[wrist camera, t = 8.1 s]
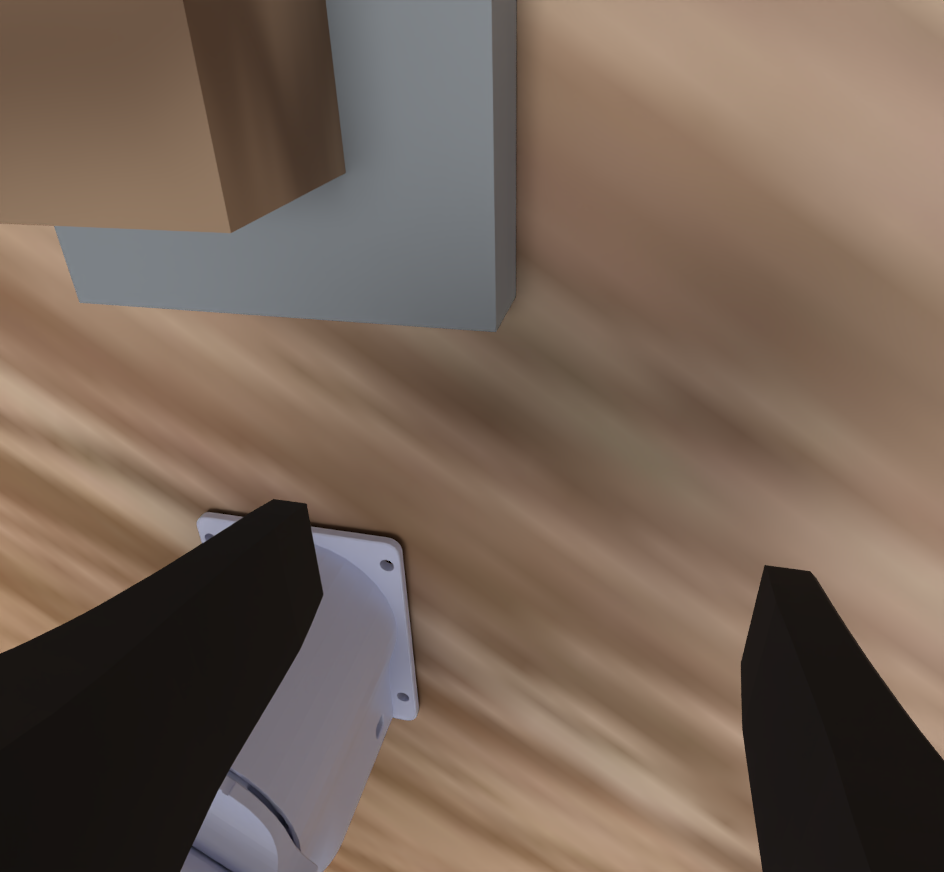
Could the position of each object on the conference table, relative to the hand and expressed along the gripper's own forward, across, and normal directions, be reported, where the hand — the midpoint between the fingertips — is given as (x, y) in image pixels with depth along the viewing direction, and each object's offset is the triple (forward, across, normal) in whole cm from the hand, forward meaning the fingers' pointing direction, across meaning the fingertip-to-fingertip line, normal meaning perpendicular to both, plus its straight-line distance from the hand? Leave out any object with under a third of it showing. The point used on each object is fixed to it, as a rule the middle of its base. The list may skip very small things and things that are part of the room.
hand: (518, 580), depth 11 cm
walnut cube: (+7, +8, -7) cm, 13 cm away
